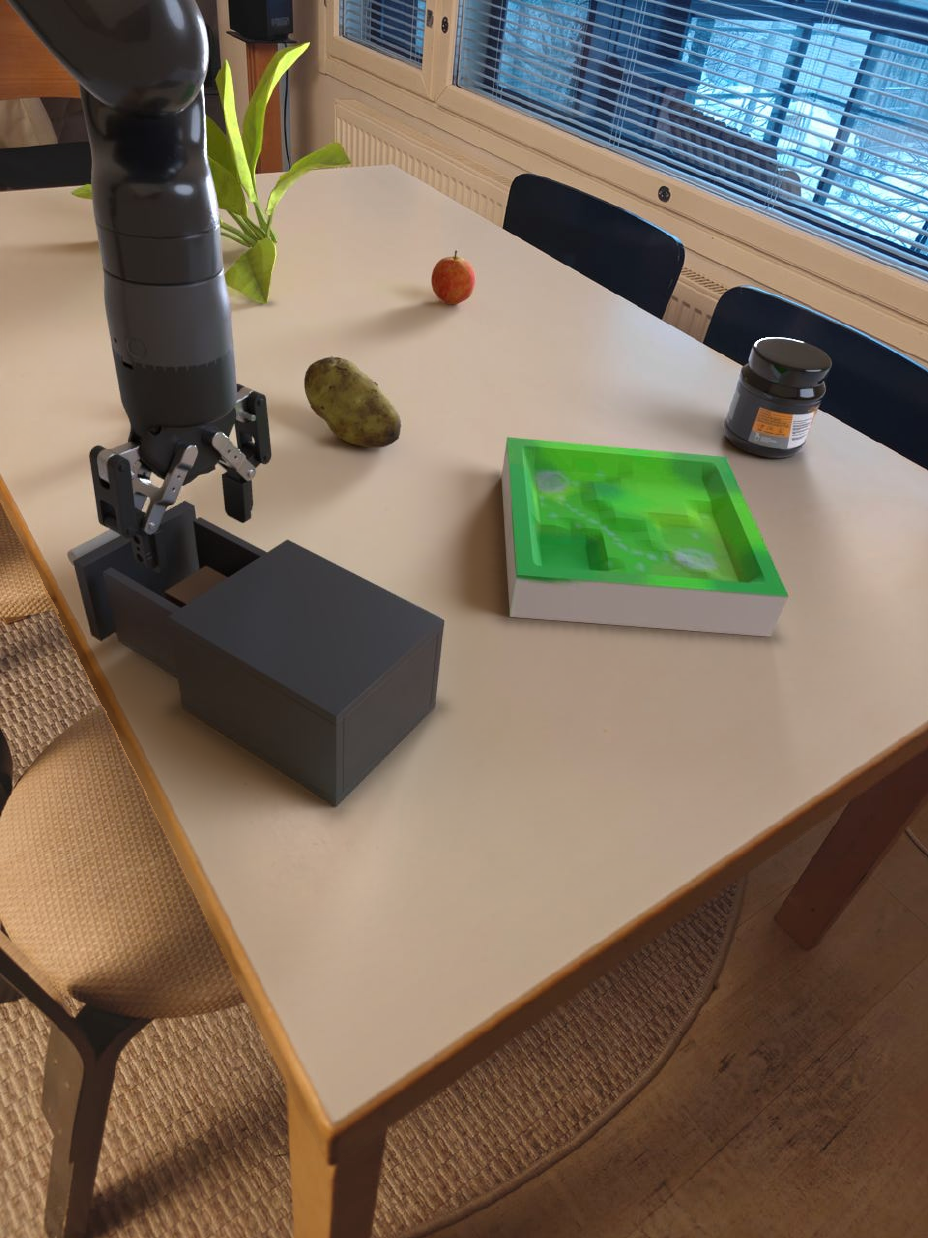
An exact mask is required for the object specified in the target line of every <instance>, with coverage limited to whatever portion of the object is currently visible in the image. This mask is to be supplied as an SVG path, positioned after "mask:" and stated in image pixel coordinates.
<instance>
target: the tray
mask: <svg viewBox="0 0 928 1238" xmlns="http://www.w3.org/2000/svg"><path fill="white" fill-rule="evenodd" d="M500 478H501V490H502V491H501V493H502V506H503V526H504V543H505V559H506V576H507V577H506V579H507V594H508V610H509V617H510V618H520V619H532V620H533V619H534V620H535V619H536V620H547V621H559V622H572V623H584V624H585V623H586V624H599V625H611V626H623V627H624V626H625V627H637V628H648V629H649V628H650V629H664V630H675V631H676V630H677V631H678V630H679V631H690V632H692V631H693V632H704V633H715V634H716V633H717V634H727V635H728V634H729V635H743V636H753V637H754V636H756V637H766V638H767V637H768V638H771V636H772V634H773V632H774V630H775V628H776V626H777V623H778V621H779V619H780V616H781V615H782V612H783V610H784V607H785V605H786V603H787V601H788V599H789V594H788V592H787V590H786V587H785V585H784V583H783V581H782V578H781V576H780V574H779V571H778V569H777V567H776V566H775V563H774V561H773V559H772V556H771V554H770V552H769V550H768V547H767V546H766V543H765V540H764V538H763V537H762V534H761V532H760V529H759V528H758V525H757V523H756V521H755V519H754V516H753V514H752V511H751V509H750V508H749V507H750V506H749V505H748V503H747V500H746V498H745V496H744V494H743V491H742V490H741V487H740V485H739V483H738V480H737V478H736V476H735V473H734V472H733V470H732V468H731V465H730V463H729V461H728V458H727V457H726V456H721V455H720V456H719V455H709V454H697V453H687V452H686V453H685V452H675V451H665V450H656V449H655V450H654V449H653V450H652V449H643V448H642V449H641V448H633V447H632V448H631V447H622V446H621V447H619V446H611V445H610V446H607V445H597V444H586V443H577V442H566V441H565V442H564V441H554V440H543V439H532V438H531V439H530V438H520V437H509V436H508V437H506V442H505V450H504V456H503V461H502V470H501V477H500Z"/></svg>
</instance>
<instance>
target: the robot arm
mask: <svg viewBox="0 0 928 1238" xmlns="http://www.w3.org/2000/svg"><path fill="white" fill-rule="evenodd" d="M6 2H7V3H8V4H9V6H10V7H11V8H12V9H13V10H14V11H15V12H16V14H17V15H18V16H19V17H20V18H21V20H22V21H23V22H24V23H25V25H26V26H27V27H28V28H29V29H30V31H31V33H33V35H34V36H36V38H37V39H38V40H39V41H40V42H41V43H42V44H43V46H44V47H45V48H46V50H47V51H48V52H49V53H50V54H51V55H52V56H53V57H54V58H55V60H57V61H58V63H59V64H60V65H61V66H62V67H63V68H64V69H65V70H66V71H67V73H68V74H70V75H71V76H72V77H73V78H74V79H75V81H77V82H78V89H79V94H80V99H81V100H80V101H81V104H82V109H83V116H84V121H85V126H86V131H87V135H88V141H89V146H90V154H91V171H90V173H91V174H90V175H91V177H90V182H91V183H90V184H91V188H92V199H91V202H92V209H93V210H92V211H93V217H94V224H95V229H96V234H97V241H98V246H99V247H98V248H99V252H100V253H99V254H100V258H101V259H100V260H101V264H102V273H103V297H104V300H103V301H104V307H105V315H106V320H107V326H108V331H109V339H110V343H111V348H112V356H113V362H114V368H115V373H116V378H117V384H118V391H119V397H120V401H121V405H122V407H123V409H124V412H125V414H126V416H127V418H128V420H129V424H130V425H129V426H130V427H129V428H130V429H129V435H128V437H127V438H128V439H127V442H125V443H123V444H120V445H117V446H115V447H112V448H107V447H104V446H102V445H99V444H97V445H95V446H93V447H92V448H91V449H90V450H89V454H88V458H89V459H88V460H89V466H90V473H91V481H92V486H93V494H94V500H95V507H96V513H97V520H98V523H99V524H100V525H101V526H103V527H105V528H107V529H108V530H110V529H111V530H113V531H115V532H116V533H118V534H119V535H121V536H122V537H124V538H126V539H129V538H130V539H131V544H132V549H133V555H134V559H135V560H136V561H137V562H138V563H139V564H141V565H143V566H145V567H146V568H148V569H150V570H152V571H154V572H156V573H158V574H159V573H161V572H162V571H164V570H166V569H167V568H168V565H167V558H166V552H165V545H164V539H163V532H162V529H160V528H159V525H160V523H161V521H162V518H163V516H164V513H165V511H167V508H168V507H171V506H173V505H174V504H175V503H176V501H177V499H178V496H179V494H180V491H181V488H182V487H184V486H187V485H188V484H190V483H192V482H193V481H194V480H195V479H197V478H198V477H199V476H202V475H207V474H210V473H211V472H213V471H215V470H216V465H218V466H219V467H221V468H222V469H223V470H224V471H225V472H224V473H222V474H221V485H222V493H223V494H222V495H223V505H224V511H225V513H226V515H227V516H228V518H229V517H230V518H232V519H233V520H235V521H237V522H239V523H241V524H245V523H246V522H247V521H250V520H251V519H252V511H253V509H254V508H253V507H254V494H253V479H254V478H255V476H256V474H257V468H258V467H259V466H260V465H264V466H265V465H268V464H269V463H270V461H271V460H272V457H273V454H272V443H271V434H270V424H269V415H268V404H267V398H266V395H265V394H264V393H261V392H258V391H257V390H254V389H252V388H250V387H247V386H245V385H243V384H241V383H237V374H236V373H237V372H236V361H235V347H234V346H235V345H234V335H233V321H232V308H231V300H230V295H229V290H228V285H227V284H226V281H225V276H224V274H225V269H224V257H223V247H222V246H223V245H222V235H221V232H222V231H221V228H220V221H219V220H220V219H219V215H220V212H219V208H218V203H217V197H216V192H215V187H214V182H213V178H212V175H211V171H210V167H209V162H208V155H207V140H206V120H205V115H206V107H205V106H206V105H205V87H204V86H205V85H204V83H205V80H206V77H207V73H208V68H209V61H210V46H209V37H208V31H207V27H206V23H205V20H204V17H203V15H202V12H201V10H200V8H199V6H198V3H197V1H196V0H6ZM233 428H234V430H235V431H234V432H235V438H236V444H237V445H235V444H234V443H233V442H232V441H231V440H230V436H231V433H232V430H233ZM152 474H154V475H155V476H156V477H158V478H159V479H161V480H163V483H162V485H161V486H160V487H159V486H156V485H154V484H153V483H152V482H151V476H152ZM148 498H149V503H148V506H147V508H146V511H143V509H144V507H145V504H146V501H147V499H148Z"/></svg>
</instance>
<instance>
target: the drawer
mask: <svg viewBox="0 0 928 1238" xmlns="http://www.w3.org/2000/svg"><path fill="white" fill-rule="evenodd" d="M159 528H160V529H162V532H163V539H164V545H165V552H166V558H167V565H168V568H167V569H166V570H164V571H162V572H161V573H159V574H158V573H156V572H154V571H152V570H150V569H148V568H146V567H145V566H143V565H141V564H139V563H138V562H137V561H136V560H135V559H134V555H133V549H132V544H131V539H130V538H129V539H126V538H124V537H122V536H121V535H119V534H118V533H116V532H115V531H113V530H111V529H108V530H105V531H104V532H102V533H99V534H98V535H96V536H94V537H92V538H91V539H89V540H86V541H85V542H83V543H81V544H79V545H77V546H75V547H73V548H72V549H70V550H68V551H67V552H66V556H67V559H68V561H69V562H70V564H71V565H72V566H73V567H74V571H75V575H76V579H77V583H78V587H79V591H80V596H81V600H82V602H83V606H84V607H83V608H84V611H85V616H86V619H87V623H88V627H89V631H90V635H91V636H92V637H93V638H95V639H96V640H98V641H100V642H102V641H104V640H105V639H107V638H109V637H110V636H112V635H114V634H115V633H116V638H117V642H118V643H120V644H122V645H123V646H125V647H127V648H128V649H129V650H131V651H133V652H135V653H136V654H138V655H140V656H141V657H143V658H144V659H146V660H147V661H149V662H150V663H152V664H153V665H155V666H156V667H159V668H160V669H162V670H164V671H165V672H167V673H168V674H170V675H171V676H172V677H174V678H176V679H178V677H177V671H176V665H175V659H174V653H173V647H172V641H171V635H170V629H169V623H168V616H169V615H171V614H173V613H174V612H176V611H177V610H179V609H180V607H178V606H176V605H175V604H173V603H171V602H170V601H168V600H166V599H165V593H164V592H165V591H166V590H168V589H169V588H171V587H173V586H174V585H176V584H177V583H179V582H180V581H182V580H184V579H185V578H187V577H188V576H190V575H192V574H193V573H195V572H196V571H198V570H199V569H201V568H203V567H204V566H208V567H210V568H212V569H213V570H215V571H217V572H219V573H221V574H223V575H225V576H226V577H230V576H231V575H233V574H234V573H236V572H238V571H239V570H241V569H242V568H244V567H245V566H247V565H248V564H250V563H251V562H253V561H255V560H256V559H258V558H259V557H261V556H262V555H264V554H265V553H267V552H268V551H266V550H263V549H262V548H260V547H258V546H256V545H254V544H253V543H250V542H249V541H247V540H245V539H243V538H241V537H239V536H237V535H236V534H233V533H231V532H230V531H227V530H225V529H224V528H222V527H220V526H218V525H216V524H214V523H212V522H210V521H209V520H207V519H205V518H203V517H200V516H199V517H197V512H196V506H195V505H194V504H192V503H191V502H189V501H187V500H184V501H181V502H180V503H178V504H176V505H174V506H172V507H170V508H169V509H166V511H165V513H164V516H163V518H162V521H161V523H160V525H159Z"/></svg>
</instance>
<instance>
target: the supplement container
mask: <svg viewBox="0 0 928 1238" xmlns="http://www.w3.org/2000/svg"><path fill="white" fill-rule="evenodd" d="M751 347H752V348H751V350H750V354H749V357H748V362H746V363H745V364H744V365H743V366H741V369H740V370H739V373H738V379H737V383H736V387H735V389H734V393H733V396H732V398H731V401H730V405H729V408H728V411H727V414H726V417H725V418H724V421H723V427H722V430H723V432H724V435H725V437H726V438H727V439H728V441H729V442H730V443H732V444H733V445H734V446H736V447H737V448H738V449H740V450H742V451H744V452H746V453H748V454H751V455H755V456H758V457H764V458H771V459H780V458H781V459H782V458H788V457H791V456H794V455H796V454H798V453H799V452H800V451H801V450H802V449H803V448H804V446H805V444H806V441H807V437H808V435H809V432H810V430H811V427H812V425H813V422H814V419H815V417H816V414H817V412H818V410H819V407H820V405H821V402H822V400H823V399H824V397H825V395H826V393H827V385H826V383H825V382H826V380H827V378H828V376H829V373H830V371H831V368H832V365H833V361H832V359H831V357H830V356H829V354H827V353H826V352H824V350H822V349H820V348H818V347H817V346H814V345H812V344H810V343H807V342H804V341H801V340H796V339H792V338H786V337H765V338H761V339H759V340H757V341H755V342H754V344H753V345H752V346H751Z"/></svg>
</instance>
